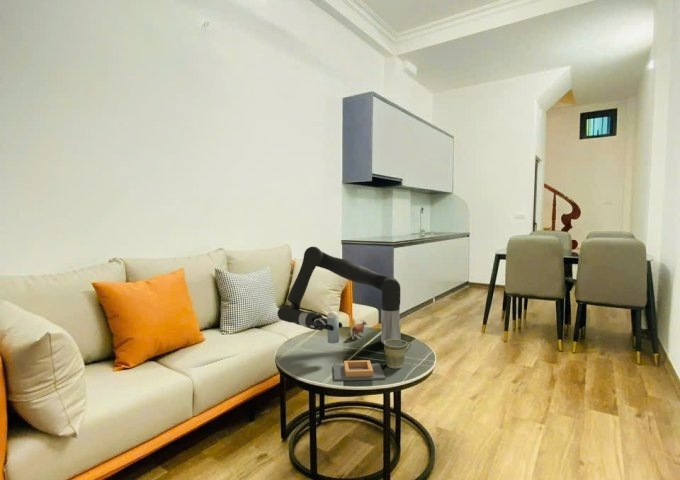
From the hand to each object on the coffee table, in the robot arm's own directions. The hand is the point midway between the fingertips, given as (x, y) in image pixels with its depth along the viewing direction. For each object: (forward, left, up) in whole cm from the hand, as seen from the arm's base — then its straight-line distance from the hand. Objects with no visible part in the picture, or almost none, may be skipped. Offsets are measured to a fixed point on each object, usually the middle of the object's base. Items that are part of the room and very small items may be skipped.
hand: (337, 326), depth 162 cm
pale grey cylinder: (+2, -2, -7) cm, 7 cm away
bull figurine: (-13, -36, -17) cm, 42 cm away
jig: (-8, +10, -16) cm, 21 cm away
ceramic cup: (-26, +3, -17) cm, 31 cm away
